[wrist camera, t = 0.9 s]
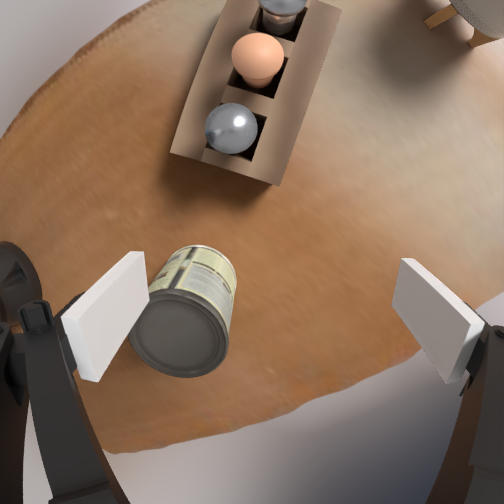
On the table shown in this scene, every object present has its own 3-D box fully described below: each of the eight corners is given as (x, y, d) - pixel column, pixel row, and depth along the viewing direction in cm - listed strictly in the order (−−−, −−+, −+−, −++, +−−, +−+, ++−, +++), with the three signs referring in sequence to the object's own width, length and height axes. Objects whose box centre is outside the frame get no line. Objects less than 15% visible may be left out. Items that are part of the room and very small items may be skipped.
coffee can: (216, 324, 44) (201, 392, 31) (153, 290, 42) (115, 348, 29) (251, 267, 41) (248, 326, 27) (182, 229, 39) (146, 272, 26)
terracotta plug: (231, 85, 29) (224, 69, 22) (245, 51, 28) (241, 27, 21) (271, 98, 30) (274, 84, 23) (284, 62, 28) (290, 41, 21)
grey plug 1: (210, 145, 31) (197, 145, 25) (223, 107, 30) (214, 96, 23) (250, 157, 32) (247, 160, 25) (263, 119, 30) (264, 111, 24)
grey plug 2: (252, 32, 27) (251, 5, 20) (265, 2, 26) (266, -28, 19) (291, 43, 27) (299, 19, 21) (302, 14, 26) (312, -15, 19)
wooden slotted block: (183, 151, 36) (169, 152, 30) (240, 0, 29) (237, -22, 23) (276, 180, 37) (279, 186, 31) (330, 27, 30) (342, 9, 24)
